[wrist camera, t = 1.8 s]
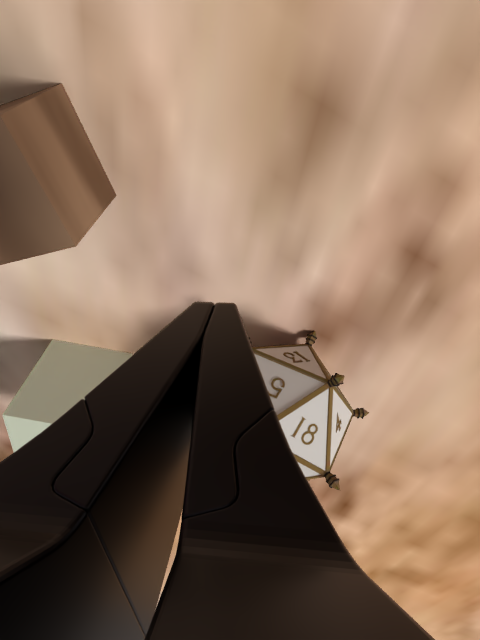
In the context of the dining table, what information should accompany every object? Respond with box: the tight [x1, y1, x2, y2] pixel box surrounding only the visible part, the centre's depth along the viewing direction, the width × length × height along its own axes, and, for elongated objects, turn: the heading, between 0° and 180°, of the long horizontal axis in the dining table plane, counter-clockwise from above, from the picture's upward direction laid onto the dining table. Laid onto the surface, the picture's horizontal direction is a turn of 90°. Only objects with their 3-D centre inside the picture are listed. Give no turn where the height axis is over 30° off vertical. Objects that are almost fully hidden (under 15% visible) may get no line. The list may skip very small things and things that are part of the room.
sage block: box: [3, 339, 133, 452], centre depth 27 cm, size 5×5×6 cm
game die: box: [248, 331, 369, 490], centre depth 24 cm, size 9×8×10 cm
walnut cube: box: [0, 83, 116, 265], centre depth 19 cm, size 5×5×5 cm
